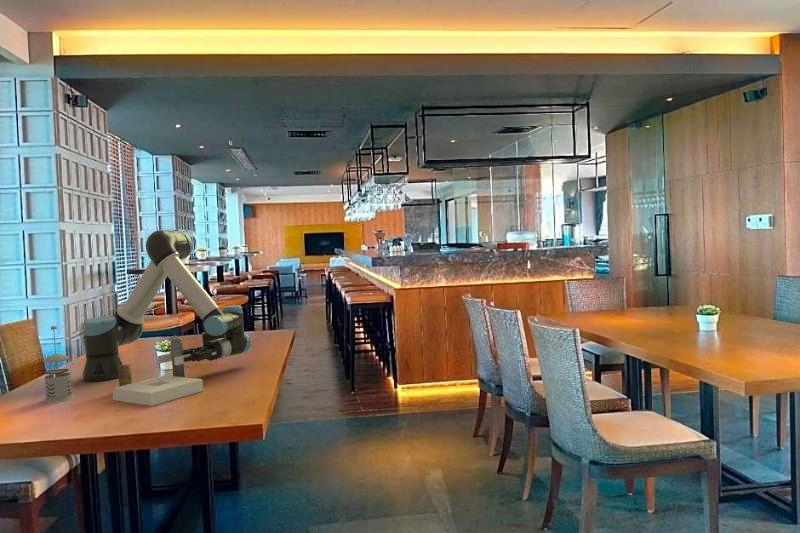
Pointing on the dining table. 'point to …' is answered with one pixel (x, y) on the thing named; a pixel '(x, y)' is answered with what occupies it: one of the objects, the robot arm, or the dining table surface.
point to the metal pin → (175, 352)
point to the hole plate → (157, 390)
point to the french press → (57, 379)
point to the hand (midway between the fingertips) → (166, 360)
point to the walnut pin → (124, 374)
